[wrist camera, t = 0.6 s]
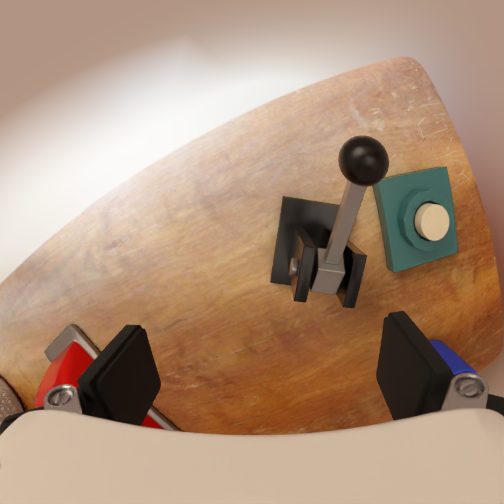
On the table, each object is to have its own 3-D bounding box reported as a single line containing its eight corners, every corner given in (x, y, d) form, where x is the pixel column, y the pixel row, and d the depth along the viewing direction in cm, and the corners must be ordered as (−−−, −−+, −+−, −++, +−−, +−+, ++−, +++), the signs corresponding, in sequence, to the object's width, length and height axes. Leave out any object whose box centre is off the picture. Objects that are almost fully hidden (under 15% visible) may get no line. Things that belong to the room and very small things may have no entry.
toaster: (204, 448, 44) (183, 531, 26) (161, 461, 46) (134, 530, 28) (74, 319, 39) (-1, 382, 21) (46, 349, 42) (-15, 404, 24)
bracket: (282, 196, 33) (289, 204, 21) (350, 207, 33) (391, 222, 20) (270, 279, 35) (268, 330, 23) (334, 287, 35) (362, 340, 23)
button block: (371, 180, 32) (383, 180, 28) (437, 166, 30) (454, 166, 27) (387, 267, 34) (399, 277, 30) (449, 248, 33) (465, 255, 29)
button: (411, 207, 29) (418, 208, 27) (439, 200, 28) (447, 201, 26) (416, 241, 29) (423, 244, 28) (443, 233, 29) (451, 236, 27)
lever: (341, 123, 17) (349, 142, 14) (387, 135, 16) (402, 155, 14) (304, 266, 26) (304, 295, 23) (338, 271, 25) (341, 299, 23)
